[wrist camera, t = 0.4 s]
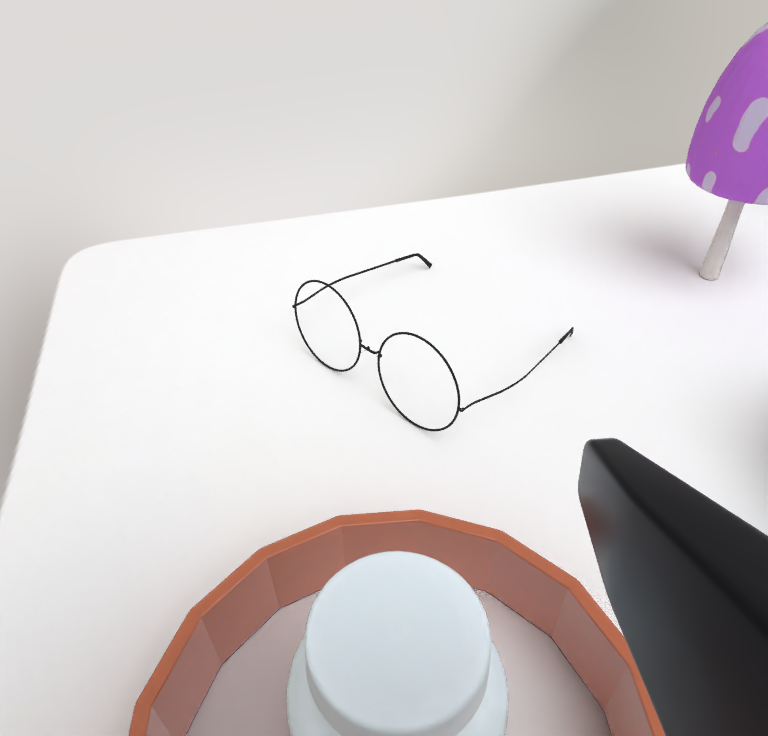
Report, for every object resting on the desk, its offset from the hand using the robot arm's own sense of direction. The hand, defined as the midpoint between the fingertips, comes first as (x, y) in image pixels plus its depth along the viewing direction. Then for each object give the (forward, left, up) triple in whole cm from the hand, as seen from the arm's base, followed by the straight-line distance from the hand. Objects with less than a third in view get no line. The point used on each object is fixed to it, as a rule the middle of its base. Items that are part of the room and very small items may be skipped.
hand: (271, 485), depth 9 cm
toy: (+27, -24, -16) cm, 39 cm away
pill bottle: (+1, -2, -16) cm, 16 cm away
